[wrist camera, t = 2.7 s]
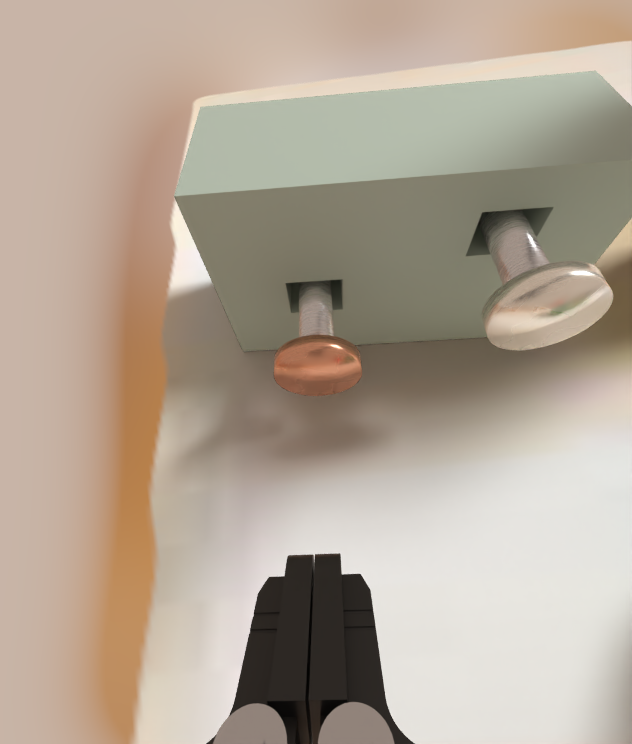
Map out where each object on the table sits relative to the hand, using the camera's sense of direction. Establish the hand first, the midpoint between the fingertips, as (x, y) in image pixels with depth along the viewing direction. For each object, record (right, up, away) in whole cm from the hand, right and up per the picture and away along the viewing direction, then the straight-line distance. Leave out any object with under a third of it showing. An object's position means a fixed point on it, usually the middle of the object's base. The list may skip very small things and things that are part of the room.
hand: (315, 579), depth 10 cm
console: (+6, +13, +24) cm, 28 cm away
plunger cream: (+12, +13, +14) cm, 22 cm away
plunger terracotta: (0, +10, +18) cm, 21 cm away
